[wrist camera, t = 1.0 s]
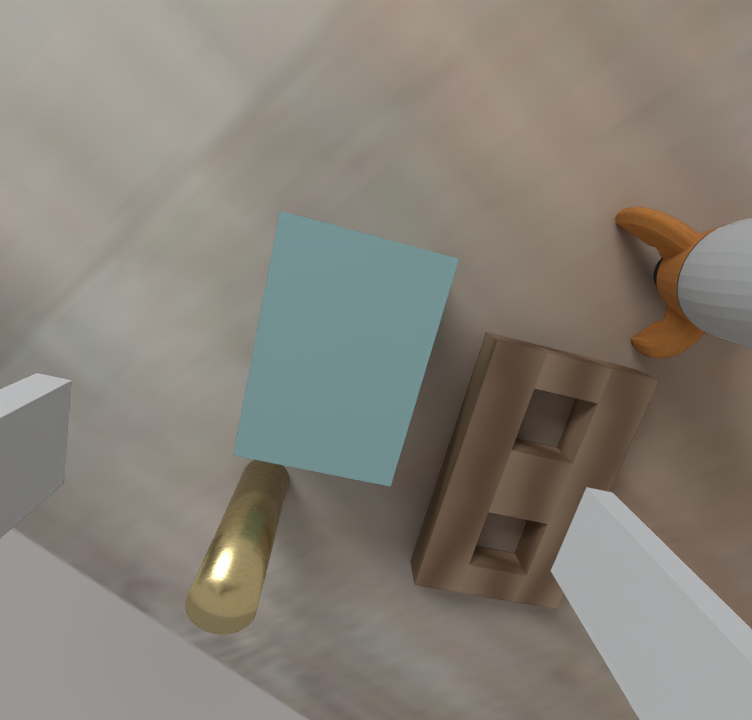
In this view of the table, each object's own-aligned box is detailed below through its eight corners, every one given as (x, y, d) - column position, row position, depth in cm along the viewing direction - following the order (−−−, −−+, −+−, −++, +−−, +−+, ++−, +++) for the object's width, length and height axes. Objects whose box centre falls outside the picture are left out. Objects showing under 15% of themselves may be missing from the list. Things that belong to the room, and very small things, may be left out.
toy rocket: (642, 363, 34) (781, 448, 19) (551, 260, 33) (626, 270, 19) (773, 269, 31) (1049, 289, 16) (676, 154, 30) (878, 70, 16)
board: (410, 561, 36) (414, 584, 34) (486, 332, 31) (497, 340, 29) (543, 585, 38) (556, 609, 35) (636, 369, 33) (659, 380, 30)
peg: (238, 494, 34) (180, 628, 22) (246, 454, 33) (190, 572, 21) (283, 502, 34) (250, 639, 23) (292, 463, 33) (262, 584, 22)
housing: (264, 395, 32) (233, 455, 23) (301, 217, 29) (280, 210, 20) (379, 420, 33) (390, 486, 24) (427, 251, 30) (459, 258, 21)
